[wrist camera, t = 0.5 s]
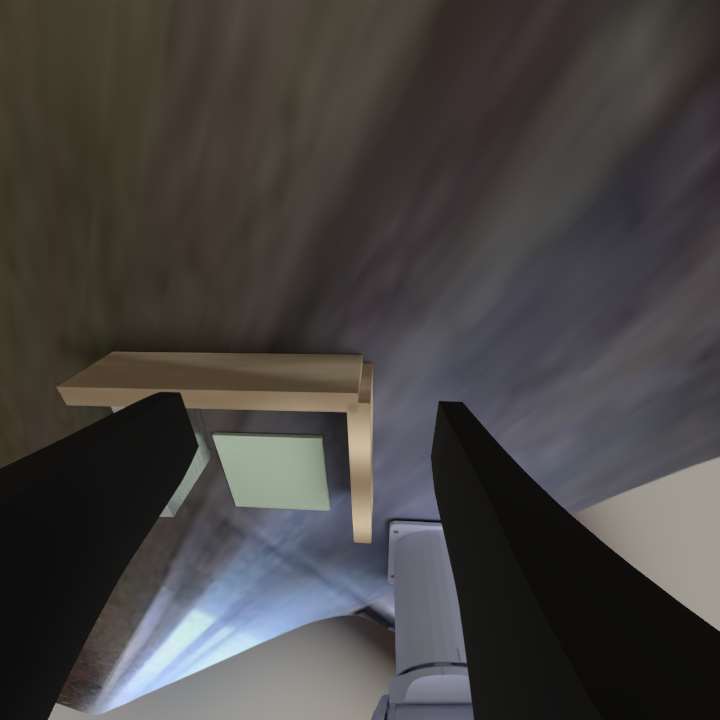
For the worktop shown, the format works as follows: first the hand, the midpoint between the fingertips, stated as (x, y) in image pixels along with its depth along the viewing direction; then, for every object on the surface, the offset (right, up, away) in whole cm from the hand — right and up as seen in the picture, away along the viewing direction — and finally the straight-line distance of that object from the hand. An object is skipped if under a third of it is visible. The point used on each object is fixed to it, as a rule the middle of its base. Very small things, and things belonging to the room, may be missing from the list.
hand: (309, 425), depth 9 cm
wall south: (+2, -4, +13) cm, 14 cm away
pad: (-5, -7, +16) cm, 18 cm away
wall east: (-6, +2, +11) cm, 13 cm away
